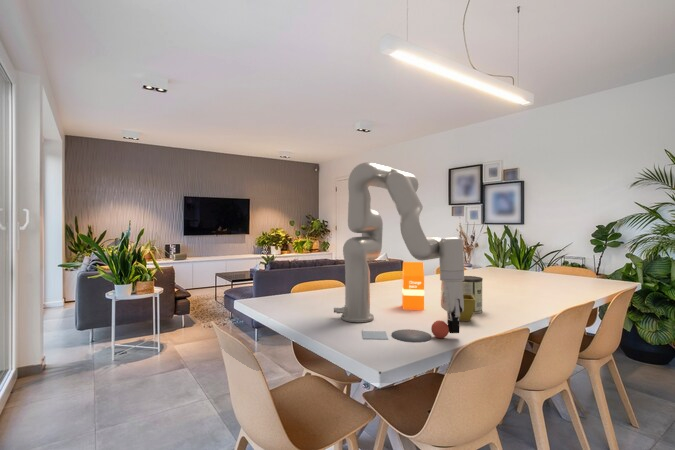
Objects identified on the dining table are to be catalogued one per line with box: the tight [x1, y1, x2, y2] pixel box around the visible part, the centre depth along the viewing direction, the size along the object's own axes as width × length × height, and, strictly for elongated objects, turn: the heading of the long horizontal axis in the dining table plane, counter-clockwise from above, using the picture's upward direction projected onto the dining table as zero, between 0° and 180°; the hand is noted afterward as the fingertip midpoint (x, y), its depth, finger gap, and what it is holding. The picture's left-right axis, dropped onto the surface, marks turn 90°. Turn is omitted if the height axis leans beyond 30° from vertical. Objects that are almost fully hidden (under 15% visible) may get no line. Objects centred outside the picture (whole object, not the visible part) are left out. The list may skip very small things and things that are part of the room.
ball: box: [431, 320, 450, 339], centre depth 119 cm, size 6×6×6 cm
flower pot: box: [459, 295, 475, 322], centre depth 141 cm, size 9×9×9 cm
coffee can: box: [462, 275, 484, 314], centre depth 156 cm, size 10×10×14 cm
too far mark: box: [361, 330, 389, 340], centre depth 121 cm, size 8×8×1 cm
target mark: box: [390, 328, 433, 343], centre depth 121 cm, size 13×13×1 cm
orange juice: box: [401, 261, 425, 311], centre depth 161 cm, size 8×9×20 cm
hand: (453, 332), depth 119 cm, fingers closed
